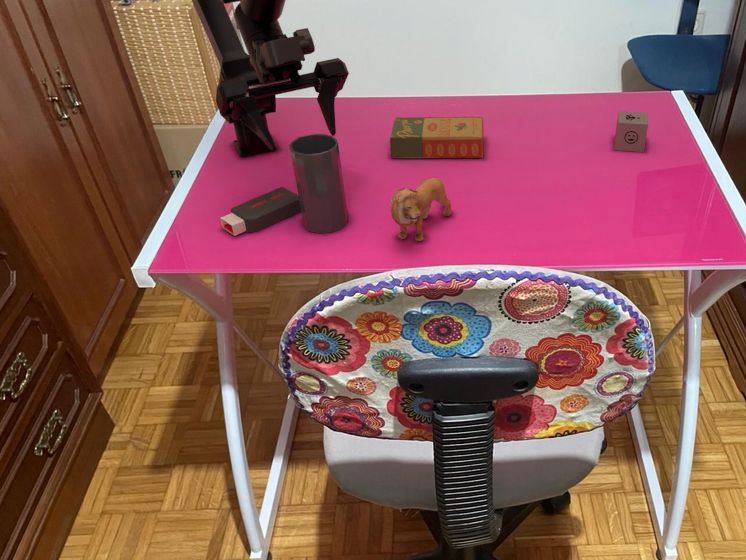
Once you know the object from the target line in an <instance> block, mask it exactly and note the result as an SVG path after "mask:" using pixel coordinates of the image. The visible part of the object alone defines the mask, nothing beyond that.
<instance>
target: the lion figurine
mask: <svg viewBox="0 0 746 560" xmlns="http://www.w3.org/2000/svg"><path fill="white" fill-rule="evenodd" d="M433 201H436V202H437V203H439V204H440V205H441V206H444V207H445V210H444V211H443V215H444V216H446V217H450V216H452V202H451V199H449V198H448V196H447V194H446V188H445V184H444V183H443V181H442V180H441V179H440V178H438V177H433V178H426V179H424V180H423V181H422V182H421V183H420V185H419V186H418V187H416V188H415V189H414V190H413V189H412V188H410V187H408V188H406V187H403V188H400V189H398V190H397V191H395V192H394V193H393V194H392V197H391V199H390V213H391V217H392V219H393V220H394V222H395V223H396V224H397V225H398V226H399V229H400V232H399V233H398V235H397V237H398V239H400V240H405V239H406V238H407V235H408V228H410V227H412V226H414V225H415V230H414V236H415V237H414V241H416V242H423V241H424V233H423V222H424V221H423V220H424V219H427V218H428V216H429V213H430V211H431V208H432V202H433Z"/></svg>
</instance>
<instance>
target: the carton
mask: <svg viewBox="0 0 746 560" xmlns="http://www.w3.org/2000/svg"><path fill="white" fill-rule="evenodd" d="M391 129H392V130H391V133H390V136H389V149H390V157H391V158H392V159H439V158H440V159H458V158H459V159H462V158H464V159H466V158H467V159H469V158H470V159H475V158H477V159H478V158H483V157H484V117H483V116H433V117H432V116H420V117H419V116H418V117H417V116H416V117H411V116H410V117H399V116H396V117H394V121H393V125H392V128H391Z"/></svg>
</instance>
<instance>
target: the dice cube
mask: <svg viewBox="0 0 746 560" xmlns="http://www.w3.org/2000/svg"><path fill="white" fill-rule="evenodd" d="M648 116H649V115H648V112H641V111H640V112H639V111H625V110H624V111H623V110H618V111H617V119H616V127H615V132H614V133H615V134H614V151H620V152H623V151H624V152H638V153H644V152H645V146H646V139H647V135H648V129H649V128H648V127H649V117H648Z"/></svg>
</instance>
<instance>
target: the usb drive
mask: <svg viewBox="0 0 746 560" xmlns="http://www.w3.org/2000/svg"><path fill="white" fill-rule="evenodd" d="M299 213H301V208H300V202H299V197H298V193H297V194H296V193H295V192H294V191H292V190H290V189H289V188H286V187H284V186H281V187H278V188H275V189H272V190H270V191H269V192H265V193H264V194H261V195H259V196H256V197H254V198H252V199H250V200H247V201H244V202H242V203H240V204H237V205H235V206H233V207H231V208H230V213H228V214H226V215H224V216H221V217H220V218H219V219H220V223H221V226H222V229H224V230H225V231H227V232H228V233H229V234H231V235H233V236H234V237H236V236H238V235H240V234H242V233H245V232H246V233H247V234H250V233H256V232H260V231H261V230H264V229H266V228H268V227H271V226H272V225H275V224H277V223H279V222H281V221H284V220H285V219H288V218H290V217H293V216H294V215H297V214H299Z"/></svg>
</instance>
